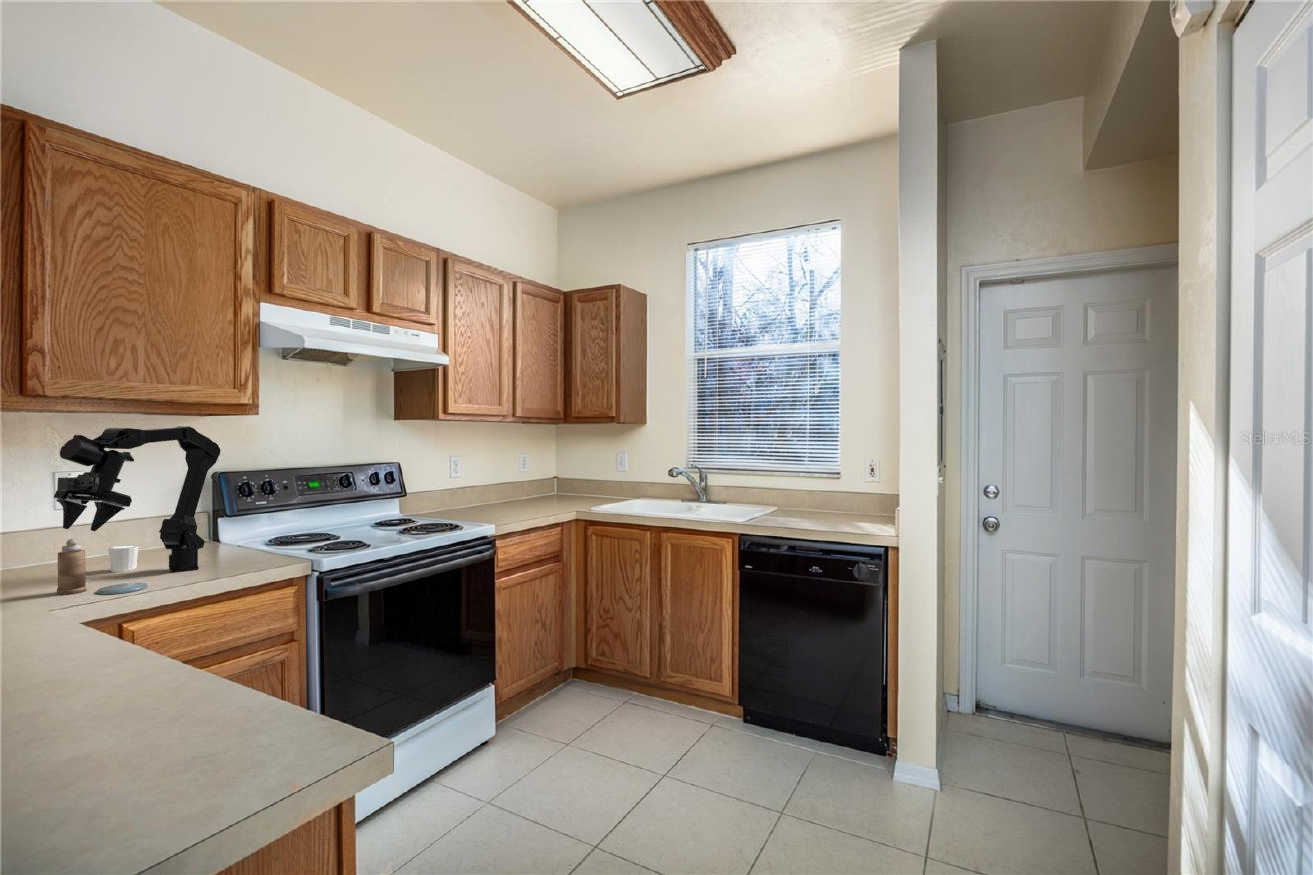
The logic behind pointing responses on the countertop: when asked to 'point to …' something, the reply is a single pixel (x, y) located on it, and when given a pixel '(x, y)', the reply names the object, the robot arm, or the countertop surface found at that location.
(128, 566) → the white faceted cup
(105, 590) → the trivet
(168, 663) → the countertop surface
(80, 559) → the pepper mill
